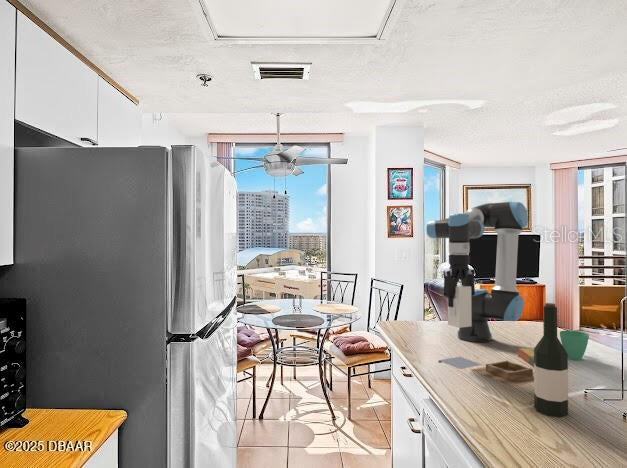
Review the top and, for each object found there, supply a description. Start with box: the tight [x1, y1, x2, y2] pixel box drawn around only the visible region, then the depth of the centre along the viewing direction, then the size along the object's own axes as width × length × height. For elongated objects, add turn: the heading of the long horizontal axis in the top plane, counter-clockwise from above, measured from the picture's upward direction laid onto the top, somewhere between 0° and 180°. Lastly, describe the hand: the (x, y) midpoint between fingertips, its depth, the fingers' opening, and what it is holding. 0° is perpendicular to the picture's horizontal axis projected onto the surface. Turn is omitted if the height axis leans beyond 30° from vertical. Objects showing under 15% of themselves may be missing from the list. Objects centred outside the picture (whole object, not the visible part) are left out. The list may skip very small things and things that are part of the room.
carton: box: [517, 348, 534, 368], centre depth 156 cm, size 8×16×4 cm, turn 175°
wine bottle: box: [533, 302, 569, 418], centre depth 115 cm, size 8×8×30 cm
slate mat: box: [438, 356, 483, 370], centre depth 156 cm, size 11×11×1 cm
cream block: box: [447, 284, 472, 329], centre depth 156 cm, size 6×6×15 cm
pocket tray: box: [470, 360, 534, 388], centre depth 143 cm, size 18×18×3 cm
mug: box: [559, 329, 590, 361], centre depth 165 cm, size 15×10×10 cm
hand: (459, 314), depth 156 cm, fingers closed on cream block, 6 cm apart
